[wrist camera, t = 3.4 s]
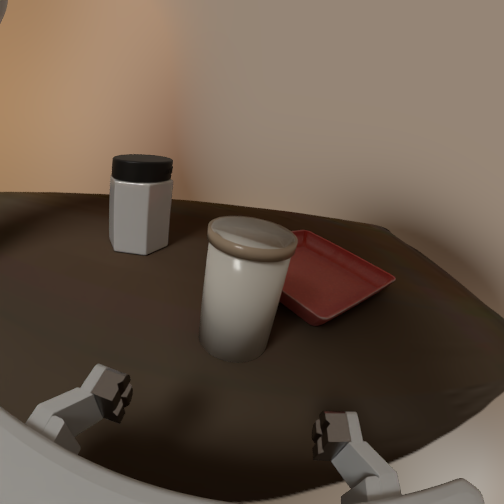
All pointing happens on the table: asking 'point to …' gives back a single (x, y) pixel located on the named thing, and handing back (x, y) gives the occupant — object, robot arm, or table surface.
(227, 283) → the canister
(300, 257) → the plant saucer
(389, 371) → the table surface
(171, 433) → the table surface
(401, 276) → the table surface
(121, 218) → the jar
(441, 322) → the table surface
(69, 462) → the robot arm
